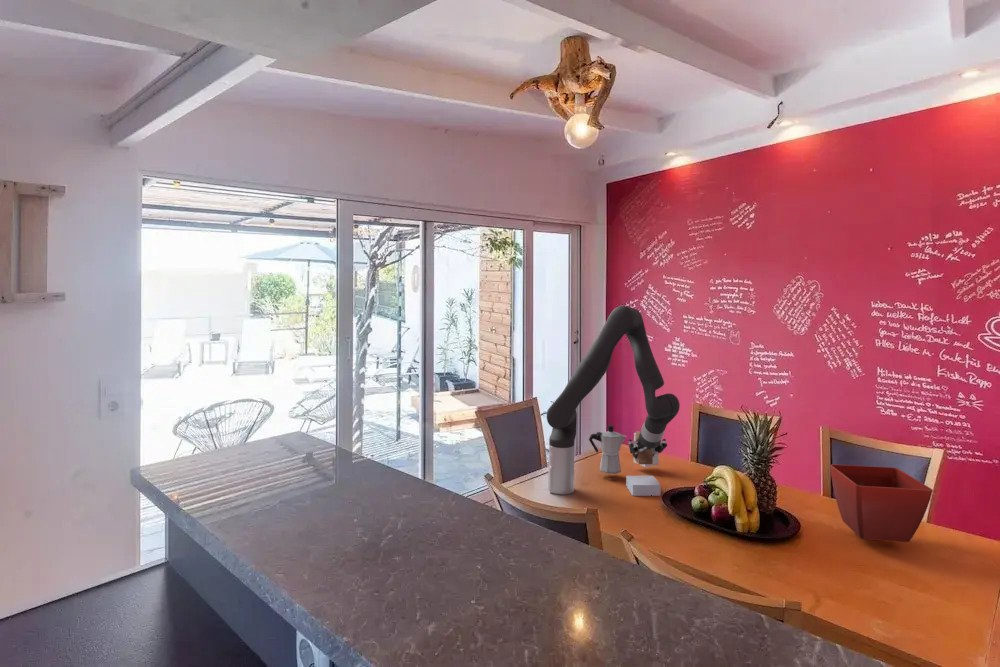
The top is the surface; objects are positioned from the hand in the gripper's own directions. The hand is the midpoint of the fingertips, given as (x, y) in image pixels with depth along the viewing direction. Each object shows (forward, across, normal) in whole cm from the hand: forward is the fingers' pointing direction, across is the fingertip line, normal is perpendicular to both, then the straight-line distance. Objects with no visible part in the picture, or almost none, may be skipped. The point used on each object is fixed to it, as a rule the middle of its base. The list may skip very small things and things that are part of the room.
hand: (642, 456), depth 203 cm
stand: (+8, 0, +10) cm, 13 cm away
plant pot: (-24, -57, +38) cm, 72 cm away
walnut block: (0, 0, +3) cm, 3 cm away
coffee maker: (+16, +10, -2) cm, 19 cm away
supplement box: (+21, -7, -8) cm, 24 cm away
